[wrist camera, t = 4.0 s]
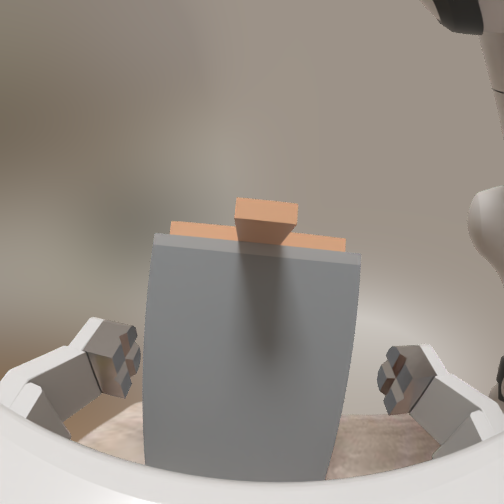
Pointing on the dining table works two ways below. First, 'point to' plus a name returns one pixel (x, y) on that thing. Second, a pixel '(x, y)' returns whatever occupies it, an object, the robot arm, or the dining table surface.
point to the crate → (246, 357)
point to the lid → (261, 227)
